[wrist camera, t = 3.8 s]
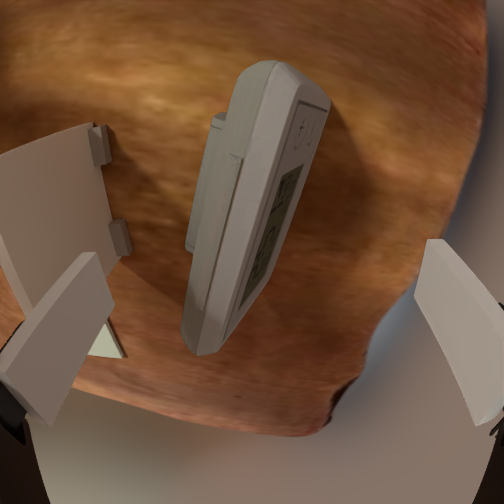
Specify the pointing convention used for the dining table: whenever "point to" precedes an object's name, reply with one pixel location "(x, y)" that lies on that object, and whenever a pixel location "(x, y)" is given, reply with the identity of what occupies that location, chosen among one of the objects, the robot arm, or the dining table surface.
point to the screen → (56, 210)
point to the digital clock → (248, 196)
